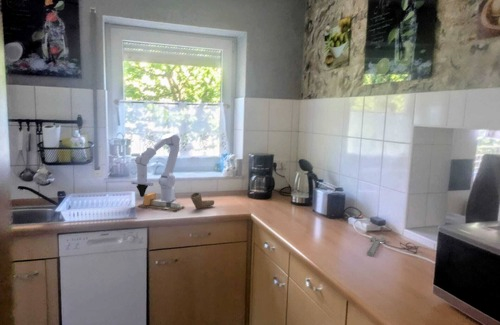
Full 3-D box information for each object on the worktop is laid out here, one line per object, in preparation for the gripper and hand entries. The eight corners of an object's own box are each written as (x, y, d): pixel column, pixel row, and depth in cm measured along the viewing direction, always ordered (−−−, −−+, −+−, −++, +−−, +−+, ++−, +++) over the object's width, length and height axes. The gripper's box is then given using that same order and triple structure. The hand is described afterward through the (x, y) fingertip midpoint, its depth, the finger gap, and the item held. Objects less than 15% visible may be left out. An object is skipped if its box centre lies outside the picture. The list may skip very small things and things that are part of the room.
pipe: (216, 207, 215) (217, 191, 214) (194, 211, 204) (194, 194, 203) (210, 205, 220) (211, 189, 219) (188, 209, 209) (188, 192, 207)
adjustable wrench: (372, 258, 141) (373, 254, 141) (357, 254, 145) (357, 250, 145) (386, 241, 162) (387, 237, 162) (372, 238, 166) (373, 234, 165)
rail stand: (138, 206, 209) (138, 200, 209) (147, 203, 219) (147, 197, 218) (175, 211, 201) (175, 204, 201) (184, 207, 211) (184, 201, 210)
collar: (144, 204, 209) (144, 195, 209) (151, 202, 217) (151, 192, 216) (148, 205, 208) (148, 195, 208) (155, 202, 216) (155, 193, 215)
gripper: (128, 174, 211) (128, 196, 212) (148, 176, 206) (148, 199, 208) (135, 173, 217) (135, 194, 219) (155, 175, 213) (155, 196, 214)
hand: (142, 196), depth 214 cm, fingers closed
